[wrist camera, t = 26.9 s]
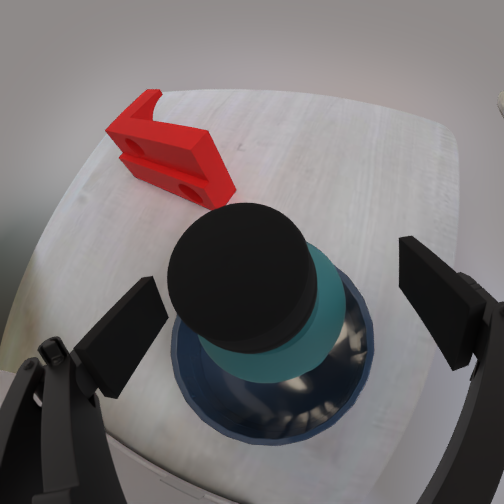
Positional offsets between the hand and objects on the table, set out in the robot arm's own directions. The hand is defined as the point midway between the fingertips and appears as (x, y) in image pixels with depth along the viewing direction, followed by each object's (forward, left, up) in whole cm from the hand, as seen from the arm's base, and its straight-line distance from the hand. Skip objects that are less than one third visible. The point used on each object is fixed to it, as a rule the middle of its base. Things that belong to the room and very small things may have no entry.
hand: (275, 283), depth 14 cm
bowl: (+1, +3, -14) cm, 14 cm away
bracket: (+19, -18, -14) cm, 30 cm away
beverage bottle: (0, +2, -13) cm, 13 cm away
